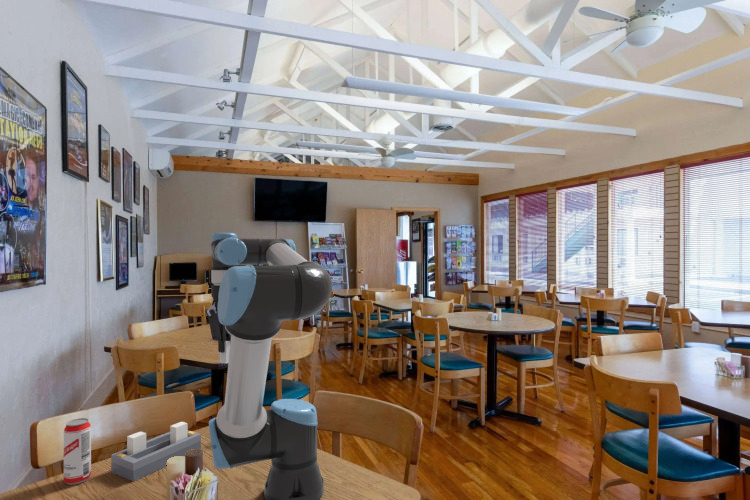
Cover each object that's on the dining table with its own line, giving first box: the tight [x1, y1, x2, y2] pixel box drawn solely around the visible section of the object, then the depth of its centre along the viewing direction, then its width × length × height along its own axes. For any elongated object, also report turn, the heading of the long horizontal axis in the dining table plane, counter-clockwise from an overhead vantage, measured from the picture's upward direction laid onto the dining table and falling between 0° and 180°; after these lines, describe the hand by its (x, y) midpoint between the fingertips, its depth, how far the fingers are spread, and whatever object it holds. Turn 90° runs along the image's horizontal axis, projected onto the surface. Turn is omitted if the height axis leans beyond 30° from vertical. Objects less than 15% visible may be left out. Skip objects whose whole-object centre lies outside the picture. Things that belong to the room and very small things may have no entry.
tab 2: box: [169, 421, 189, 445], centre depth 136 cm, size 3×4×6 cm
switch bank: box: [110, 430, 202, 482], centre depth 133 cm, size 10×22×5 cm, turn 151°
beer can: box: [63, 417, 92, 486], centre depth 121 cm, size 6×6×16 cm
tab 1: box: [126, 431, 147, 456], centre depth 129 cm, size 3×4×6 cm
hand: (224, 362), depth 134 cm, fingers closed
